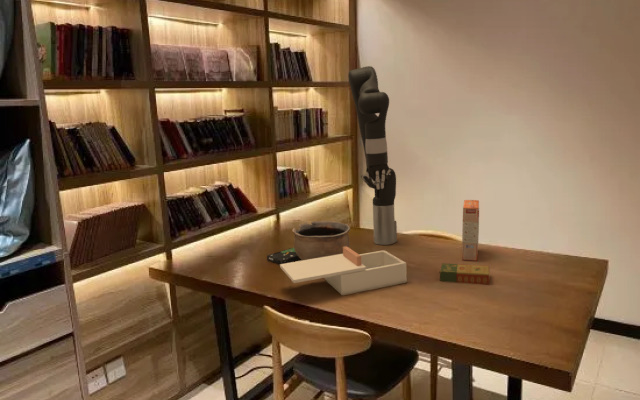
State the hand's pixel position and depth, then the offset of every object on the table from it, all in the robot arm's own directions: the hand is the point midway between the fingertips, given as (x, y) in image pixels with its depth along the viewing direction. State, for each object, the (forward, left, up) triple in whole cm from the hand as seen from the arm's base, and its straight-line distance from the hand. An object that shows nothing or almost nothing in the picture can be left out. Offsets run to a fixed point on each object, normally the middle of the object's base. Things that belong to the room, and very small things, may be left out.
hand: (379, 198), depth 169 cm
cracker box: (-38, +2, -27) cm, 47 cm away
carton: (-21, +21, -28) cm, 41 cm away
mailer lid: (+26, +7, -20) cm, 33 cm away
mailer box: (+10, +7, -27) cm, 30 cm away
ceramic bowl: (+17, -16, -27) cm, 36 cm away
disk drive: (+27, -30, -28) cm, 49 cm away
